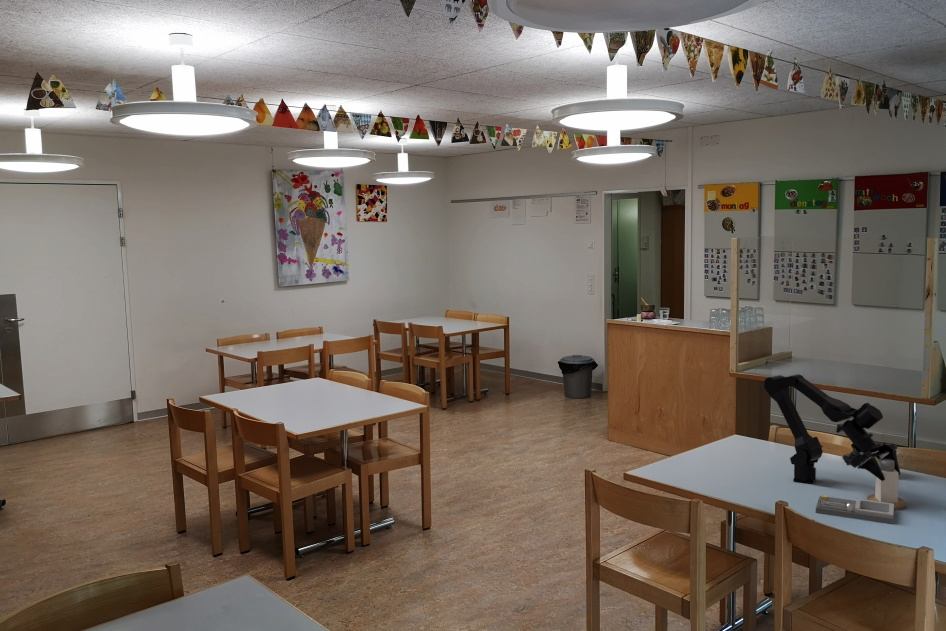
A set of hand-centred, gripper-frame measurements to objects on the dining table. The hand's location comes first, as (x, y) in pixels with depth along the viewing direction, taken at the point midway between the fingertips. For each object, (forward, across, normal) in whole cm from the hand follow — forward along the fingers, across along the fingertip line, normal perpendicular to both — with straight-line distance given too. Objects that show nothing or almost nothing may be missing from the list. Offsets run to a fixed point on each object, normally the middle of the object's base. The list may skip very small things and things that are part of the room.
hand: (891, 477), depth 238 cm
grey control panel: (+4, +14, -9) cm, 17 cm away
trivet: (+5, 0, -7) cm, 9 cm away
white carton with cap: (+4, 0, -7) cm, 8 cm away
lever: (+2, +21, -11) cm, 23 cm away
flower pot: (-6, -27, -18) cm, 33 cm away
